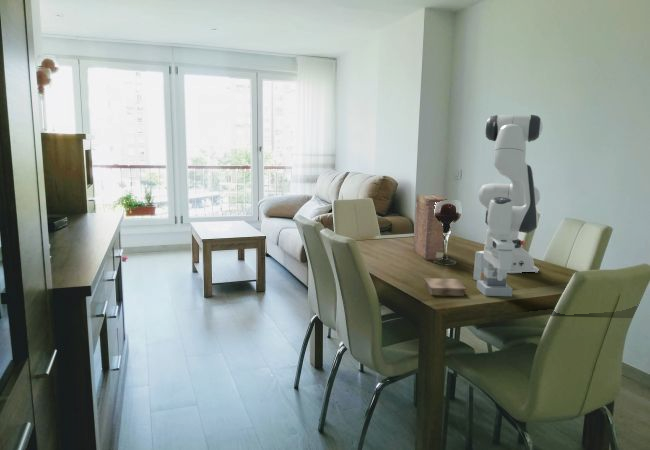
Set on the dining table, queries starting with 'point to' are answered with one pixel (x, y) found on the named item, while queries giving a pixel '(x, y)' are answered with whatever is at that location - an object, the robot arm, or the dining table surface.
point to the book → (428, 229)
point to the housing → (493, 277)
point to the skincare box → (479, 266)
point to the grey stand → (494, 289)
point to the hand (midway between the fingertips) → (495, 276)
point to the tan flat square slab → (444, 287)
